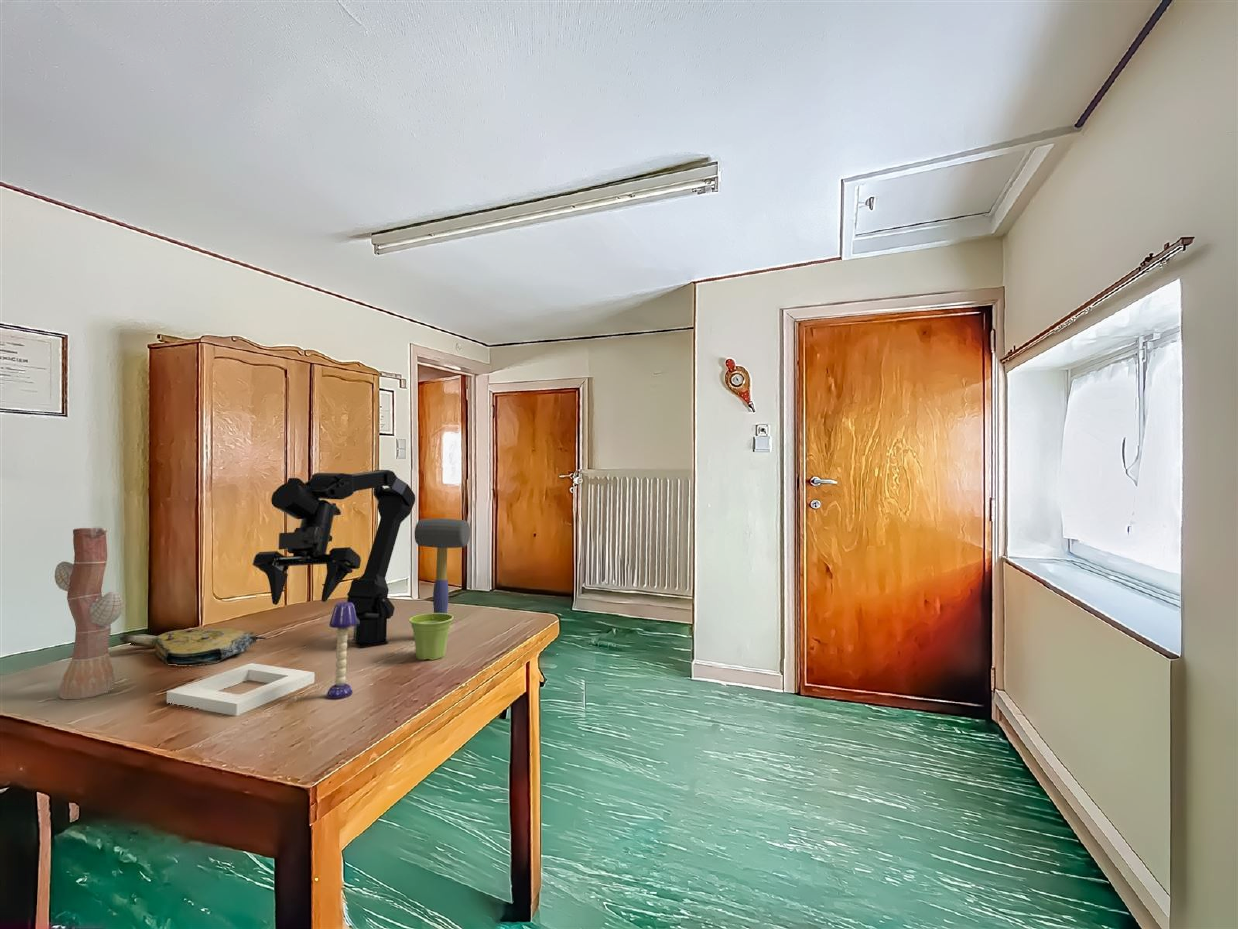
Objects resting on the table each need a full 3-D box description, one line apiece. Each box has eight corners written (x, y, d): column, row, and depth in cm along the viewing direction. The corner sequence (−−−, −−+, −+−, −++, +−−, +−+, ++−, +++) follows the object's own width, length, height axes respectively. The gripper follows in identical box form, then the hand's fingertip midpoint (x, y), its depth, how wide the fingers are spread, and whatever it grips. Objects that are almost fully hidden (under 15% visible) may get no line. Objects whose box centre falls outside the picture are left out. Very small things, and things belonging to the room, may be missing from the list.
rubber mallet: (408, 641, 136) (412, 518, 137) (422, 632, 143) (425, 516, 144) (458, 643, 135) (461, 520, 136) (468, 634, 142) (472, 518, 143)
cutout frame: (250, 673, 112) (251, 663, 112) (314, 682, 107) (314, 672, 108) (166, 703, 97) (166, 691, 97) (236, 716, 92) (236, 703, 92)
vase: (127, 687, 103) (134, 526, 104) (80, 702, 96) (88, 529, 97) (86, 681, 106) (94, 524, 107) (38, 695, 99) (46, 527, 100)
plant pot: (424, 666, 118) (425, 625, 118) (399, 657, 124) (401, 618, 124) (460, 655, 126) (461, 617, 126) (436, 647, 131) (437, 610, 132)
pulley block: (159, 614, 132) (268, 623, 126) (162, 637, 133) (270, 647, 127) (94, 640, 118) (213, 651, 113) (97, 665, 119) (215, 678, 113)
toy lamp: (327, 691, 103) (331, 601, 104) (355, 688, 105) (358, 599, 106) (325, 700, 99) (328, 607, 100) (354, 697, 101) (357, 605, 101)
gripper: (247, 514, 107) (224, 594, 100) (345, 509, 108) (329, 588, 100) (277, 535, 117) (258, 609, 109) (367, 531, 118) (354, 604, 110)
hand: (299, 602), depth 107 cm, fingers open, 9 cm apart
